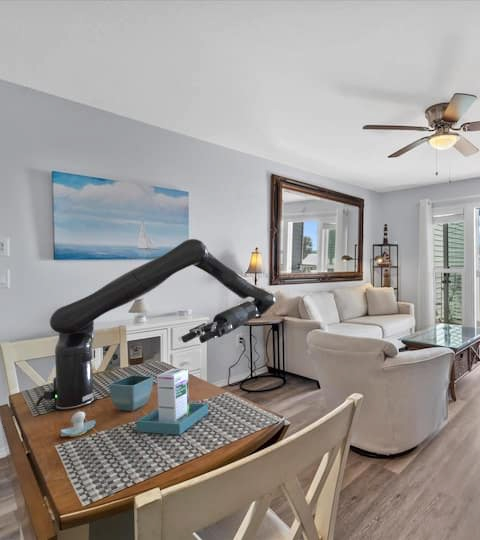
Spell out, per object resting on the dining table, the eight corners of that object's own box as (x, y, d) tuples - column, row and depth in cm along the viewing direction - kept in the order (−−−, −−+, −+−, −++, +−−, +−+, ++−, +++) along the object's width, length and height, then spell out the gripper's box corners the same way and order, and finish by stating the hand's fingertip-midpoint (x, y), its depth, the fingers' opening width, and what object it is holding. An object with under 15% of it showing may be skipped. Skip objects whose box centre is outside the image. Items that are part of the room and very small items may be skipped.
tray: (135, 431, 92) (135, 421, 92) (169, 410, 105) (169, 401, 105) (179, 434, 90) (179, 424, 90) (208, 412, 103) (208, 403, 103)
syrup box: (175, 426, 94) (174, 375, 94) (157, 424, 95) (156, 373, 95) (189, 416, 100) (189, 368, 99) (172, 415, 101) (171, 367, 101)
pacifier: (56, 436, 90) (64, 442, 87) (55, 413, 90) (63, 418, 87) (89, 425, 96) (98, 430, 93) (88, 403, 96) (97, 408, 93)
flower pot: (155, 402, 111) (154, 376, 111) (133, 414, 102) (132, 385, 102) (131, 401, 112) (131, 374, 112) (108, 412, 104) (107, 384, 103)
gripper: (214, 310, 120) (173, 329, 106) (242, 308, 113) (203, 328, 99) (220, 329, 122) (181, 350, 108) (248, 328, 115) (210, 351, 101)
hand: (191, 340), depth 104 cm, fingers open, 8 cm apart
